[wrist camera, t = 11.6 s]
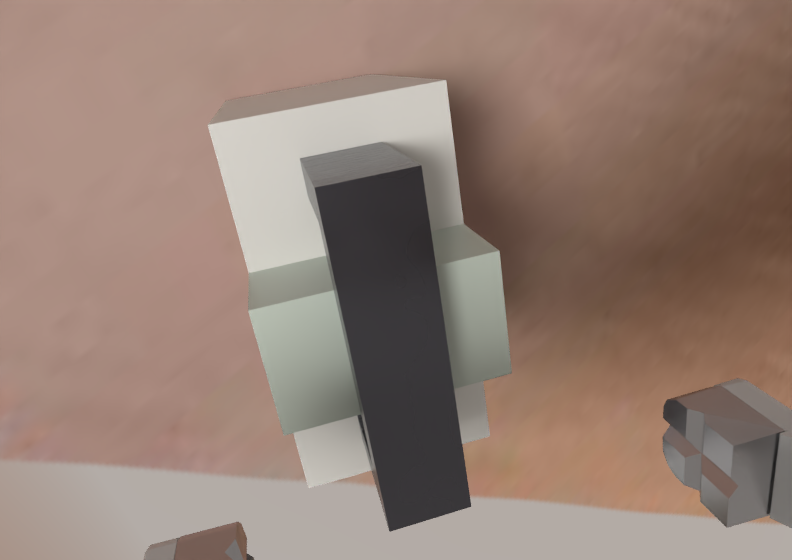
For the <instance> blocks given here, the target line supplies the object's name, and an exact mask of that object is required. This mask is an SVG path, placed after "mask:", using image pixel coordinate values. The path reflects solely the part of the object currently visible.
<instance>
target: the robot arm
mask: <svg viewBox="0 0 792 560" xmlns="http://www.w3.org/2000/svg"><path fill="white" fill-rule="evenodd" d="M663 418H664V419H665V420H666V421H667V422H668V423H669V424H670V426H669V428H668V429H667V431H666V433H665V434H664V436H663V452H664V455H665V458H666V461H667V463H668V466H669V467H670V469H671V470H672V472H673V473H674V475H675V476H676V477H677V478H678V479H679V480H680V481H681V482H682V483H683V484H684V485H686V486H688V487H691V488H693V489H696V490H699V491H700V502H701V503H702V504H703V505H704V506H705V507H706V508H707V509H708V510H709V511H710V512H711V513H712V514H713V515H714V516H715V517H716V518H718V519H719V520H720V521H721V522H722V523H723V524H724V525H725V526H726V527H731V526H734V525H738V524H741V523H744V522H748V521H751V520H755V519H758V518H762V517H765V516H769V515H770V518H771V519H774V520H776V521H778V522H780V523H782V524H784V525H786V526H788V527H790V528H792V410H791V409H789V408H788V407H786V406H785V405H783V404H782V403H780V402H779V401H777V400H776V399H774V398H773V397H771V396H770V395H768V394H767V393H765V392H763V391H762V390H760V389H759V388H757V387H756V386H754V385H753V384H751V383H750V382H748V381H747V380H743V379H739V378H737V379H734V380H730V381H727V382H724V383H720V384H717V385H714V386H713V387H709V388H705V389H702V390H699V391H695V392H692V393H688V394H685V395H681V396H678V397H675V398H671V399H668V400H667V401H666V403H665V405H664V412H663ZM144 560H254V558H253V557H252V556H250V555H249V554H247V538H246V535H245V532H244V530H243V527H242V524H241V523H239V522H235V523H232V524H227V525H223V526H220V527H216V528H212V529H208V530H204V531H200V532H197V533H193V534H189V535H185V536H182V537H180V538H176V539H172V540H168V541H164V542H160V543H157V544H153V545H150V546H149V548H148V549H147V551H146V552H145V556H144Z"/></svg>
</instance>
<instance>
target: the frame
mask: <svg viewBox="0 0 792 560" xmlns="http://www.w3.org/2000/svg"><path fill="white" fill-rule="evenodd" d="M300 163H301V167H302V172H303V176H304V181H305V185H306V190H307V194H308V198H309V201H310V203H311V205H312V208H313V210H314V212H315V215H316V217H317V220H318V222H319V226H320V230H321V235H322V240H323V244H324V249H325V253H326V258H327V262H328V267H329V271H330V276H331V280H332V285H333V289H334V294H335V298H336V303H337V307H338V312H339V316H340V321H341V326H342V330H343V335H344V339H345V344H346V348H347V353H348V357H349V362H350V366H351V371H352V375H353V380H354V384H355V389H356V393H357V398H358V403H359V407H360V412H361V415H357V417H358V422H359V426H360V430H361V435H362V439H363V443H364V446H365V450H366V453H367V457H368V460H369V463H370V467H371V470H372V474H373V477H374V480H375V484H376V487H377V491H378V494H379V497H380V501H381V504H382V508H383V511H384V514H385V518H386V521H387V524H388V528H389V531H393V530H396V529H400V528H403V527H406V526H410V525H413V524H416V523H419V522H423V521H426V520H429V519H432V518H436V517H439V516H442V515H445V514H448V513H452V512H455V511H458V510H461V509H465V508H468V507H471V502H470V495H469V488H468V481H467V474H466V467H465V460H464V454H463V447H462V440H461V433H460V426H459V419H458V412H457V406H456V399H455V392H454V385H453V378H452V371H451V364H450V358H449V351H448V344H447V337H446V330H445V323H444V316H443V309H442V303H441V296H440V289H439V282H438V275H437V268H436V261H435V255H434V248H433V241H432V234H431V227H430V220H429V213H428V207H427V200H426V193H425V186H424V179H423V172H422V165H420V164H419V163H417V162H415V161H413V160H412V159H410V158H408V157H407V156H405V155H403V154H402V153H400V152H398V151H397V150H395V149H393V148H392V147H390V146H388V145H386V144H385V143H383V142H378V143H373V144H368V145H363V146H358V147H353V148H348V149H343V150H338V151H333V152H328V153H323V154H319V155H314V156H309V157H304V158H300Z"/></svg>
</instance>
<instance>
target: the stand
mask: <svg viewBox="0 0 792 560" xmlns="http://www.w3.org/2000/svg"><path fill="white" fill-rule="evenodd" d="M208 128H209V131H210V135H211V139H212V142H213V146H214V149H215V153H216V157H217V160H218V164H219V167H220V171H221V175H222V178H223V182H224V185H225V189H226V193H227V196H228V200H229V203H230V207H231V211H232V214H233V218H234V221H235V225H236V229H237V232H238V236H239V239H240V243H241V247H242V250H243V254H244V257H245V261H246V265H247V268H248V272H249V296H248V312H249V315H250V319H251V322H252V326H253V329H254V333H255V336H256V340H257V343H258V347H259V350H260V354H261V357H262V361H263V364H264V368H265V371H266V375H267V378H268V382H269V385H270V389H271V392H272V396H273V399H274V403H275V406H276V410H277V413H278V417H279V420H280V424H281V427H282V431H283V434H284V435H288V434H292V433H293V434H294V437H295V441H296V445H297V448H298V452H299V455H300V459H301V463H302V466H303V470H304V473H305V477H306V481H307V484H308V488H312V487H316V486H319V485H323V484H326V483H330V482H333V481H337V480H340V479H343V478H347V477H350V476H354V475H357V474H361V473H364V472H368V471H371V467H370V463H369V460H368V457H367V453H366V450H365V446H364V443H363V439H362V435H361V430H360V426H359V422H358V417H357V415H361V412H360V407H359V403H358V398H357V393H356V389H355V384H354V380H353V375H352V371H351V366H350V362H349V357H348V353H347V348H346V344H345V339H344V335H343V330H342V326H341V321H340V316H339V312H338V307H337V303H336V298H335V294H334V289H333V285H332V280H331V276H330V271H329V267H328V262H327V258H326V253H325V249H324V244H323V240H322V235H321V230H320V226H319V222H318V220H317V217H316V215H315V212H314V210H313V208H312V205H311V203H310V201H309V198H308V194H307V190H306V185H305V181H304V176H303V172H302V167H301V163H300V158H304V157H309V156H314V155H319V154H323V153H328V152H333V151H338V150H343V149H348V148H353V147H358V146H363V145H368V144H373V143H378V142H383V143H385V144H386V145H388V146H390V147H392V148H393V149H395V150H397V151H398V152H400V153H402V154H403V155H405V156H407V157H408V158H410V159H412V160H413V161H415V162H417V163H419V164H420V165H422V172H423V179H424V186H425V193H426V200H427V207H428V213H429V220H430V227H431V234H432V241H433V248H434V255H435V261H436V268H437V275H438V282H439V289H440V296H441V303H442V309H443V316H444V323H445V330H446V337H447V344H448V351H449V358H450V364H451V371H452V378H453V385H454V392H455V399H456V406H457V412H458V419H459V426H460V433H461V440H462V444H464V443H468V442H471V441H475V440H478V439H482V438H485V437H488V436H490V433H489V425H488V417H487V409H486V401H485V392H484V384H483V381H485V380H489V379H492V378H496V377H500V376H503V375H507V374H511V373H512V371H511V361H510V351H509V341H508V331H507V321H506V311H505V301H504V291H503V281H502V271H501V261H500V251H499V250H498V249H497V248H495V247H494V246H493V245H491V244H490V243H489V242H487V241H486V240H485V239H483V238H482V237H481V236H479V235H478V234H477V233H475V232H474V231H473V230H471V229H470V228H469V227H467V226H466V225H465V224H464V222H463V213H462V205H461V197H460V189H459V181H458V173H457V165H456V156H455V148H454V140H453V132H452V124H451V116H450V108H449V99H448V91H447V83H446V80H441V79H428V78H415V77H402V76H389V75H376V74H369V75H364V76H358V77H353V78H347V79H342V80H336V81H331V82H325V83H320V84H315V85H309V86H304V87H298V88H293V89H287V90H282V91H276V92H271V93H266V94H260V95H255V96H249V97H244V98H238V99H233V100H227V101H225V102H224V104H223V105H222V106H221V108H220V109H219V110H218V112H217V113H216V114H215V116H214V117H213V118H212V120H211V121H210V123H209V124H208Z"/></svg>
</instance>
